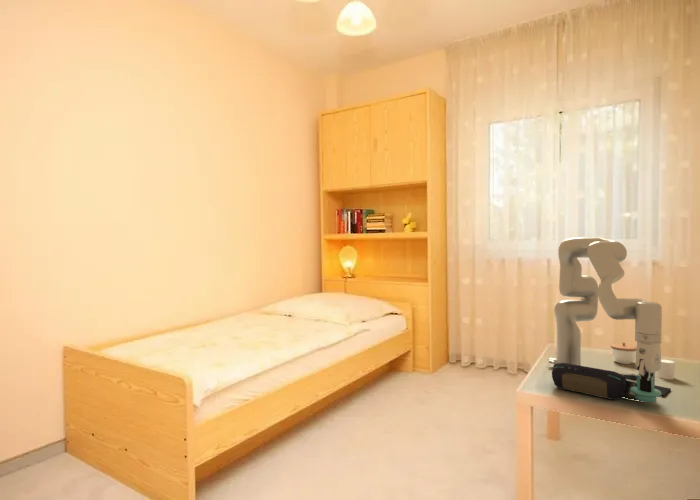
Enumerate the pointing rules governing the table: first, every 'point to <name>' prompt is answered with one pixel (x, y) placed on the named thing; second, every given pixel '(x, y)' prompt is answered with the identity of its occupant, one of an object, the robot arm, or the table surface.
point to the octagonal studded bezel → (630, 385)
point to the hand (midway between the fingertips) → (647, 389)
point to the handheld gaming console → (662, 390)
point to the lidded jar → (623, 353)
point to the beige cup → (666, 369)
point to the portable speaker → (589, 380)
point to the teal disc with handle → (645, 395)
